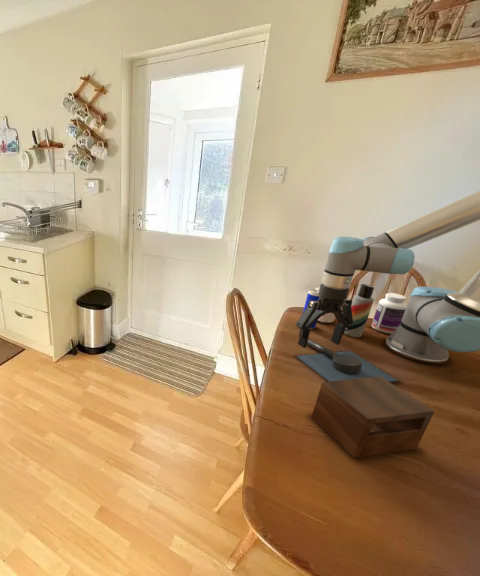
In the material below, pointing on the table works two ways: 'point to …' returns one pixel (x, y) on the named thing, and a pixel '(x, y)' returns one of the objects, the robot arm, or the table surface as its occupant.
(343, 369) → the small frying pan
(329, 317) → the cup
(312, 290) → the beverage can
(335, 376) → the mat
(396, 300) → the pill bottle
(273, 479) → the table surface
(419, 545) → the table surface
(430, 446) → the table surface
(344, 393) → the wooden box
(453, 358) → the table surface
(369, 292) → the lotion bottle
